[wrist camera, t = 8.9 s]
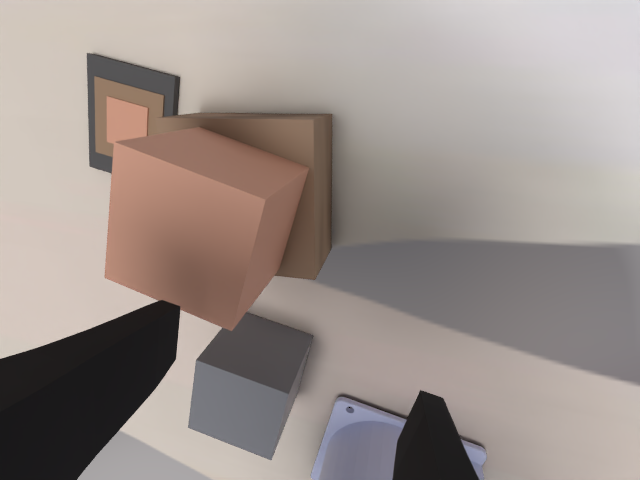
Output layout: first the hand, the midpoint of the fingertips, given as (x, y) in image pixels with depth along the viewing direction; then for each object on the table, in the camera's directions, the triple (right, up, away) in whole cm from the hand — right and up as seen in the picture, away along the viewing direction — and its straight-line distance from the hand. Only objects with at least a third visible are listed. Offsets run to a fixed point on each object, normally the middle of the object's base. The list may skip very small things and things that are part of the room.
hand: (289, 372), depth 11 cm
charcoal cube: (-2, -3, +14) cm, 14 cm away
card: (-9, +10, +10) cm, 17 cm away
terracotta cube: (-3, +6, +6) cm, 9 cm away
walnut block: (-2, +7, +10) cm, 12 cm away
